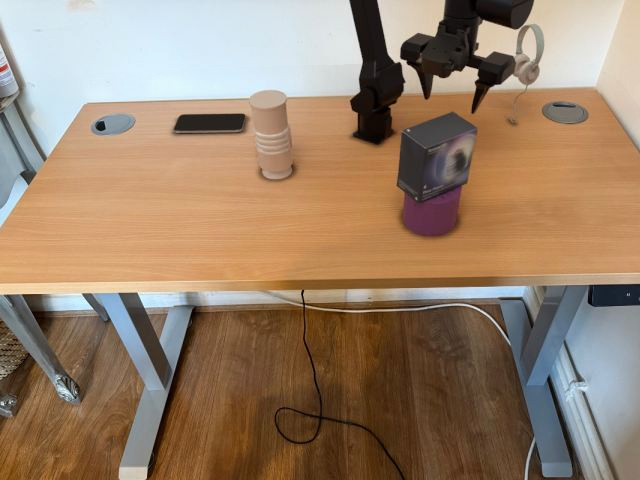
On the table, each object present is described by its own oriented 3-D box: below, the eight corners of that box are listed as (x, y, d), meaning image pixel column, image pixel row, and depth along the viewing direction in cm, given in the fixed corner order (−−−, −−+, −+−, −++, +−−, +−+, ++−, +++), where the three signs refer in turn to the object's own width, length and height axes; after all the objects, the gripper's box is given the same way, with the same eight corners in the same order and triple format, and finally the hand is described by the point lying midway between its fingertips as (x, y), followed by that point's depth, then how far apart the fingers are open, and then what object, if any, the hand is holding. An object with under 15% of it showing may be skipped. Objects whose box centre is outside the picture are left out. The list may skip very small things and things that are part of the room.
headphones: (529, 130, 113) (554, 32, 98) (512, 133, 112) (535, 35, 98) (512, 111, 119) (533, 16, 104) (495, 114, 118) (514, 19, 104)
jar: (392, 223, 93) (395, 190, 88) (420, 197, 98) (423, 164, 93) (439, 243, 89) (444, 210, 84) (465, 215, 94) (471, 181, 89)
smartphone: (241, 129, 115) (172, 130, 115) (242, 132, 115) (173, 133, 116) (245, 113, 120) (179, 114, 120) (246, 115, 120) (180, 116, 121)
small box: (419, 206, 85) (425, 148, 77) (394, 186, 89) (398, 129, 81) (469, 184, 88) (480, 126, 81) (444, 166, 92) (451, 109, 85)
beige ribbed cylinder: (287, 183, 102) (279, 110, 91) (254, 177, 104) (242, 105, 93) (299, 163, 107) (293, 92, 96) (267, 158, 108) (257, 87, 97)
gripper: (384, 16, 83) (380, 110, 94) (495, 43, 75) (477, 141, 86) (420, -4, 89) (413, 85, 100) (527, 18, 81) (506, 113, 92)
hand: (449, 105), depth 95 cm, fingers open, 9 cm apart
